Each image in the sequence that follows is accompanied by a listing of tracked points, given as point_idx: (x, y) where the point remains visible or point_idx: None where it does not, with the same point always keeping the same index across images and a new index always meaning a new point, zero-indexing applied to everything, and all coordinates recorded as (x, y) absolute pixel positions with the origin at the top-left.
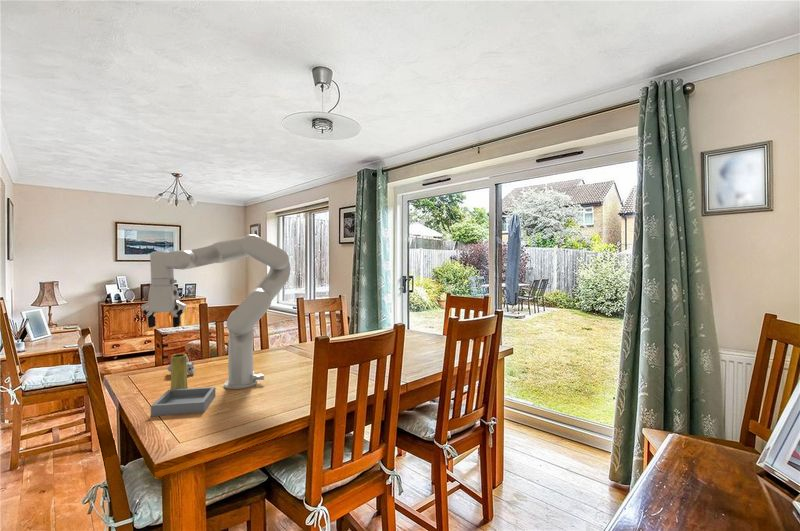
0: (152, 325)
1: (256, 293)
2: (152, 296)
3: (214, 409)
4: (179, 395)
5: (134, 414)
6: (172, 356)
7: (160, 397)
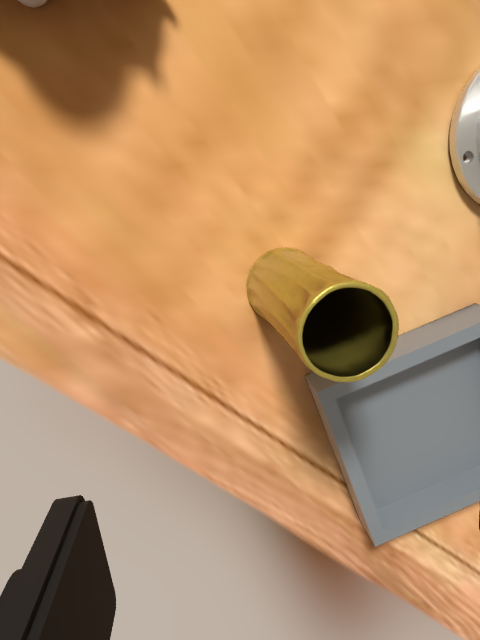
0: (100, 580)
1: None
2: None
3: None
4: None
5: (291, 520)
6: (299, 342)
7: (350, 475)
